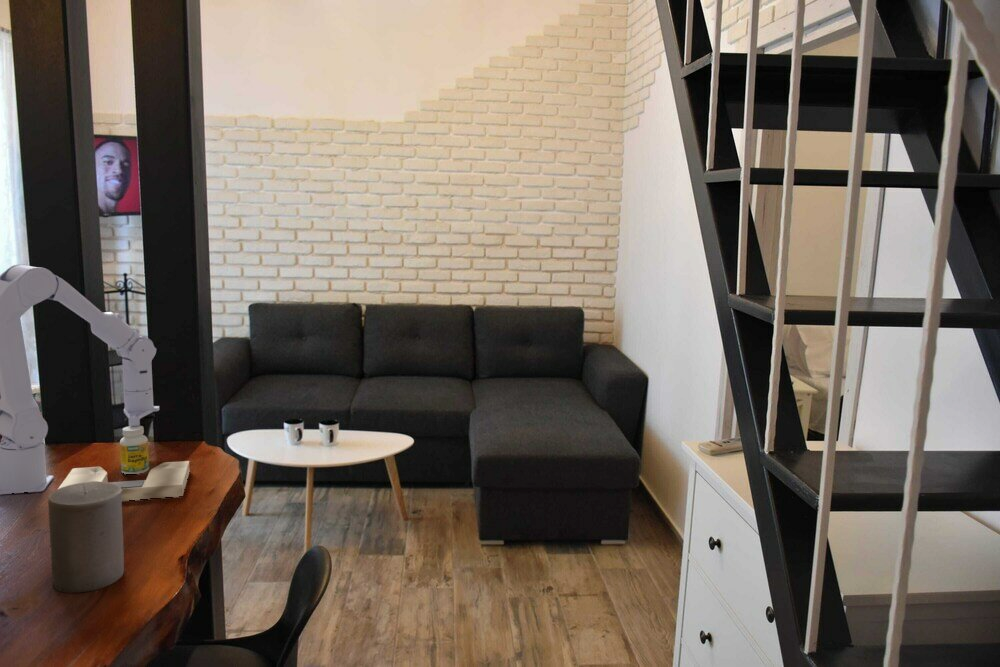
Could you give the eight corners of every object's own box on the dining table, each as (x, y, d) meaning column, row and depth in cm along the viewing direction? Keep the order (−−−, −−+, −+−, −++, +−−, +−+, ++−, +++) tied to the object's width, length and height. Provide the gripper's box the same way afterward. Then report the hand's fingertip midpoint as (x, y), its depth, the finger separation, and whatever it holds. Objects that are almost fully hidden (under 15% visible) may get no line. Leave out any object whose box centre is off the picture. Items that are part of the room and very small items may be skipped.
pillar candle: (47, 598, 104) (41, 500, 102) (57, 567, 113) (52, 475, 110) (122, 587, 108) (119, 492, 105) (127, 558, 117) (124, 470, 114)
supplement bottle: (144, 465, 158) (142, 422, 156) (153, 471, 154) (151, 428, 153) (117, 470, 154) (115, 427, 153) (126, 477, 150) (123, 433, 149)
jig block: (54, 506, 135) (53, 493, 134) (73, 479, 148) (72, 467, 147) (182, 496, 142) (182, 483, 141) (189, 472, 155) (189, 460, 154)
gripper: (153, 396, 153) (156, 457, 156) (162, 380, 167) (165, 436, 169) (116, 397, 151) (119, 459, 154) (128, 381, 165) (131, 438, 167)
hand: (141, 447), depth 161 cm, fingers closed
